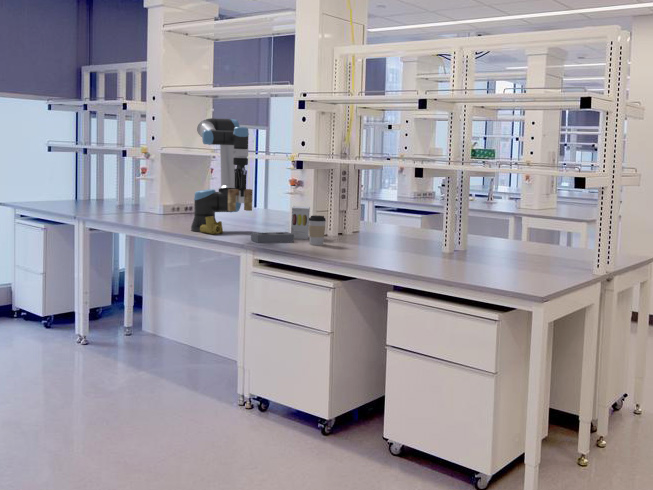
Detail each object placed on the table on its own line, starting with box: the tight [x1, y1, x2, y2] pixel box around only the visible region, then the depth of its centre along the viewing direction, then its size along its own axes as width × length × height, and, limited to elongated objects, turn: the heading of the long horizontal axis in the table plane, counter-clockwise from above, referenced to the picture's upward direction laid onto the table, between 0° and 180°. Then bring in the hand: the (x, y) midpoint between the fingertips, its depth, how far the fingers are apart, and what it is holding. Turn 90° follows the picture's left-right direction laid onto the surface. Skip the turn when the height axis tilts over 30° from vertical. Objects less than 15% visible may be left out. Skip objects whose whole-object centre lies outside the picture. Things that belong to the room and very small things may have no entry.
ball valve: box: [200, 216, 224, 235], centre depth 403 cm, size 13×10×10 cm
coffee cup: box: [309, 215, 327, 246], centre depth 372 cm, size 9×9×15 cm
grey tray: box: [250, 231, 295, 244], centre depth 379 cm, size 20×10×4 cm, turn 116°
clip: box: [228, 188, 253, 212], centre depth 379 cm, size 12×4×11 cm, turn 116°
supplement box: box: [290, 205, 311, 240], centre depth 396 cm, size 10×9×17 cm
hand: (239, 202), depth 379 cm, fingers closed on clip, 4 cm apart
